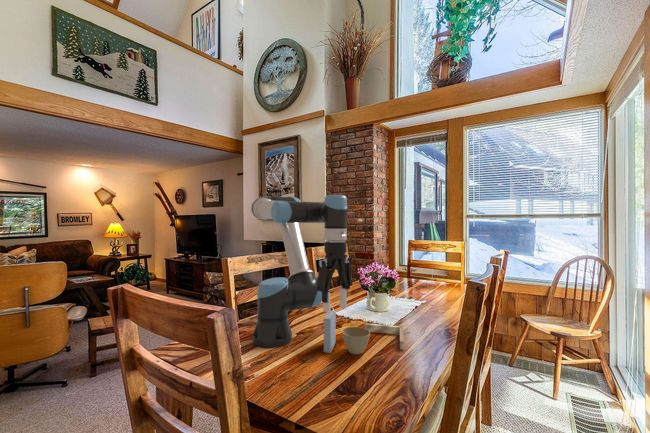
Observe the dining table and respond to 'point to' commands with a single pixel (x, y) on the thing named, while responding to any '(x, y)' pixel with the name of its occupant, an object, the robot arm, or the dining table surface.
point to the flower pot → (355, 339)
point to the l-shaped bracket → (387, 331)
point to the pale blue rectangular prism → (329, 331)
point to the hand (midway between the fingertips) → (335, 309)
